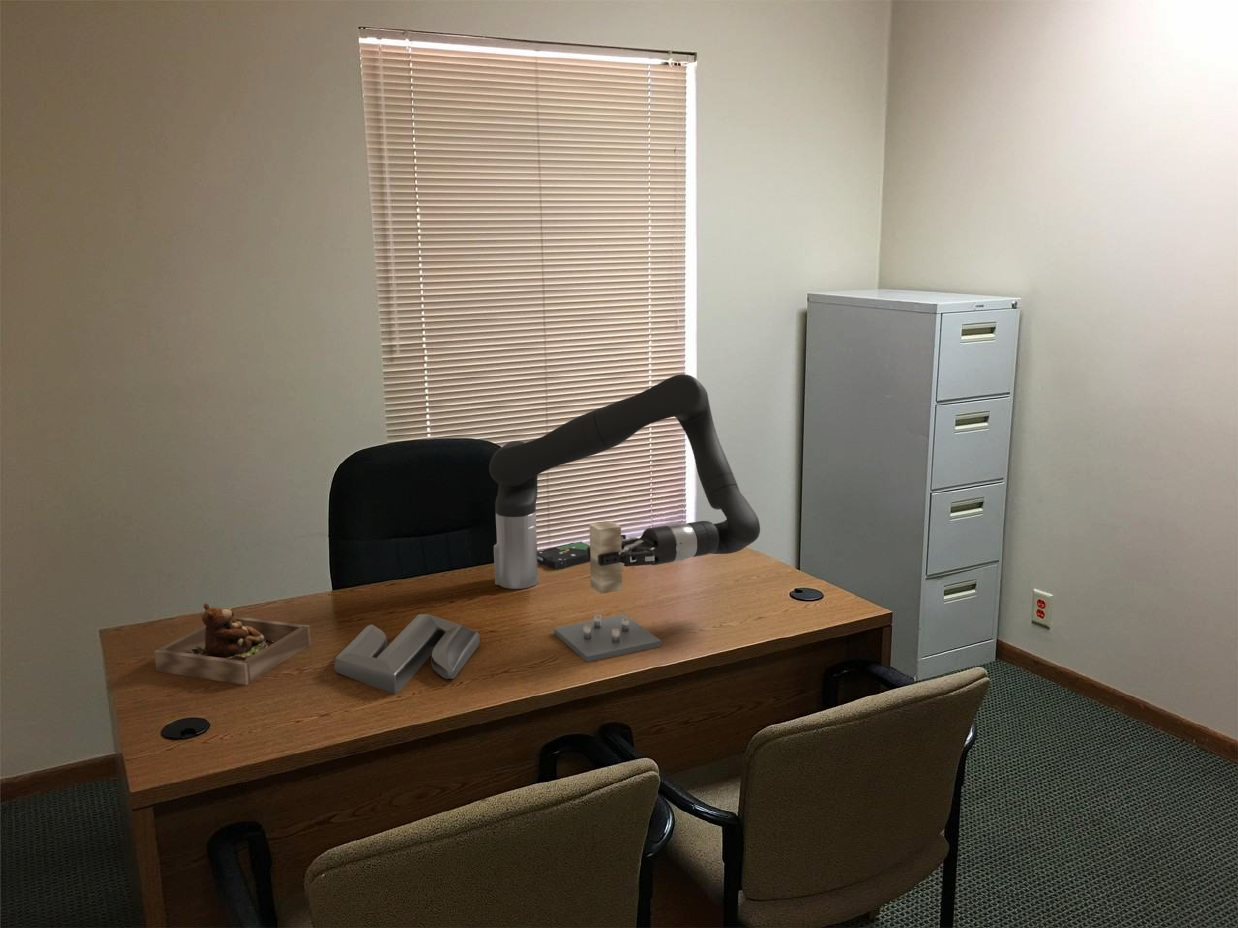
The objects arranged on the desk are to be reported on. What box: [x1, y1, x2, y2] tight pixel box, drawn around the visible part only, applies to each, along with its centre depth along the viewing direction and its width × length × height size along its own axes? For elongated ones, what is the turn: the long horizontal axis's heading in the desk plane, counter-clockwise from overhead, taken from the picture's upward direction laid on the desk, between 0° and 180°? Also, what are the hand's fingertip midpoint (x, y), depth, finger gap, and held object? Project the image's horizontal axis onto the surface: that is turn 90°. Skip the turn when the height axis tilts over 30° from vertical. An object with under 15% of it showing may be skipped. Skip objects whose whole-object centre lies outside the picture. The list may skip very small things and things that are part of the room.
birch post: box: [588, 520, 623, 595], centre depth 195 cm, size 5×5×13 cm
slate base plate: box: [553, 613, 662, 663], centre depth 199 cm, size 16×16×4 cm
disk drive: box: [537, 541, 590, 571], centre depth 249 cm, size 10×3×15 cm
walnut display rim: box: [153, 615, 312, 686], centre depth 193 cm, size 20×19×4 cm
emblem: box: [334, 613, 480, 695], centre depth 190 cm, size 28×5×28 cm
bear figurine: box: [192, 603, 269, 661], centre depth 192 cm, size 14×15×12 cm
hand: (593, 556), depth 194 cm, fingers closed on birch post, 4 cm apart
